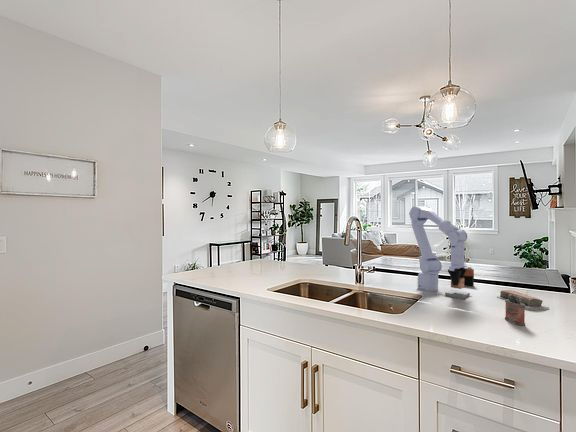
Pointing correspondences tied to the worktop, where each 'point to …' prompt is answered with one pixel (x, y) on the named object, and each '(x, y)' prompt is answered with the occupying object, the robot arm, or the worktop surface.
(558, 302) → the worktop surface
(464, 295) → the slate slab
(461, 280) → the terracotta cube
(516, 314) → the red snack pouch
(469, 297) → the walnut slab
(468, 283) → the battery
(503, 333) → the worktop surface
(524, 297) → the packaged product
